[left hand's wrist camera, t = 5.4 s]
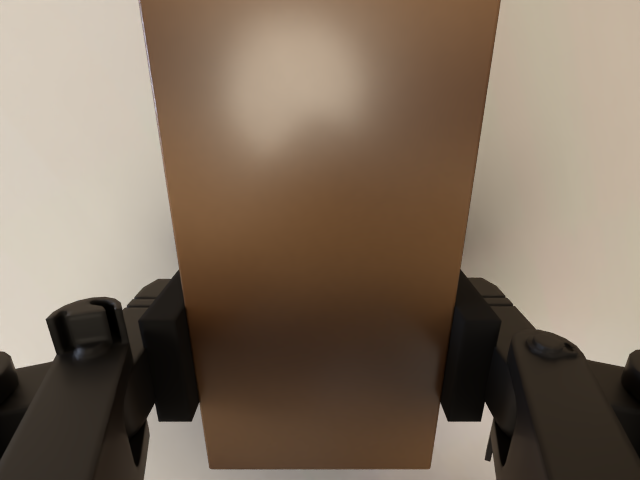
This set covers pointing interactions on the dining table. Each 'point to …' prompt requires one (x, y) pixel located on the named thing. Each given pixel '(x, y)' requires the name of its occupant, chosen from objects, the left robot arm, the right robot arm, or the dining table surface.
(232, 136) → the brown wooden brick
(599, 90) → the dining table surface
